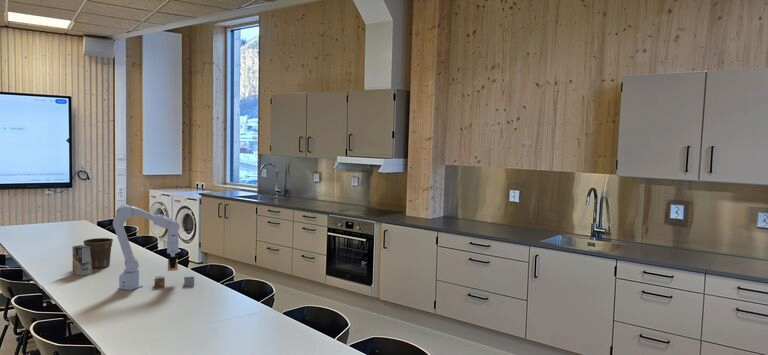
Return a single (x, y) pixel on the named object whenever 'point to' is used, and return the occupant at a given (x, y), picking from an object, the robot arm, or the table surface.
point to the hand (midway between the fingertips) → (172, 266)
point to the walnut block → (159, 281)
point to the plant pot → (100, 251)
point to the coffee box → (82, 260)
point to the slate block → (189, 280)
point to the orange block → (173, 268)
